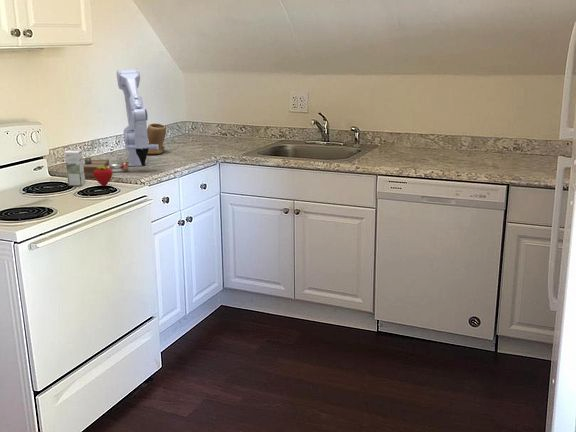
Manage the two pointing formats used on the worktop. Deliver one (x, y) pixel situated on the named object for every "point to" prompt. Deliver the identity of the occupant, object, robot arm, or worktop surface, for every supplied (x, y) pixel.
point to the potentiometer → (88, 159)
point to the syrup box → (74, 167)
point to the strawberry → (102, 175)
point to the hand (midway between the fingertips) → (143, 165)
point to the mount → (93, 167)
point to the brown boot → (156, 137)
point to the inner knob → (120, 166)
